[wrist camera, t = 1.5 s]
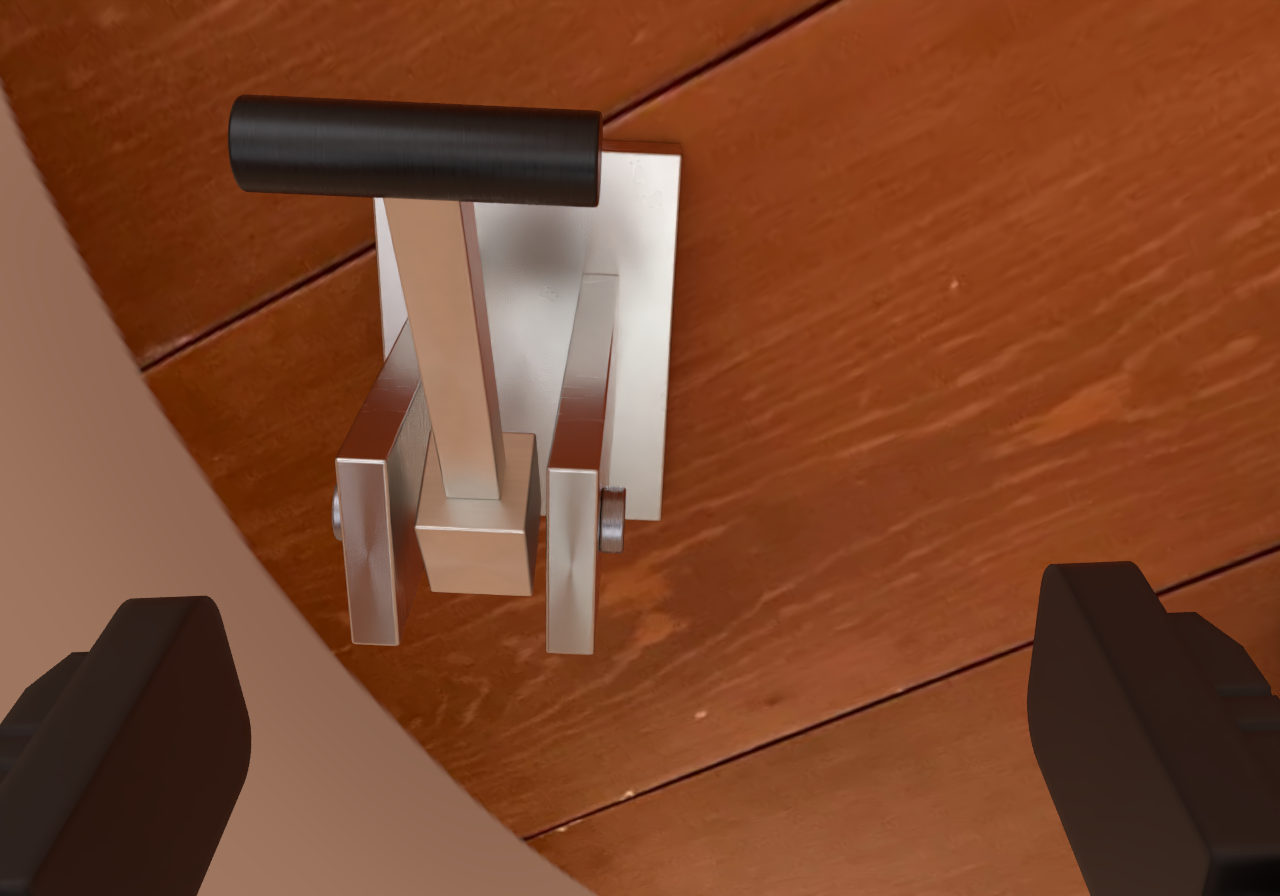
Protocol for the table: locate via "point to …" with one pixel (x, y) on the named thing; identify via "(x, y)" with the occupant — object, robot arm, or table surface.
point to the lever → (440, 284)
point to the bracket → (533, 391)
